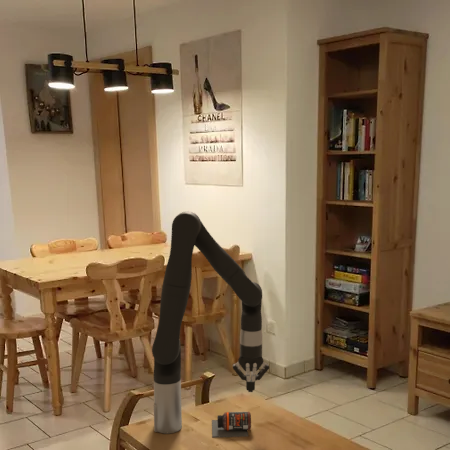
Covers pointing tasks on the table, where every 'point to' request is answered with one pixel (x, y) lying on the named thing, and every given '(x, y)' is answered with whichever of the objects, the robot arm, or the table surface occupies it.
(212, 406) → the table surface
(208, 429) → the table surface
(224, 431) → the mat
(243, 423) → the supplement bottle
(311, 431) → the table surface
